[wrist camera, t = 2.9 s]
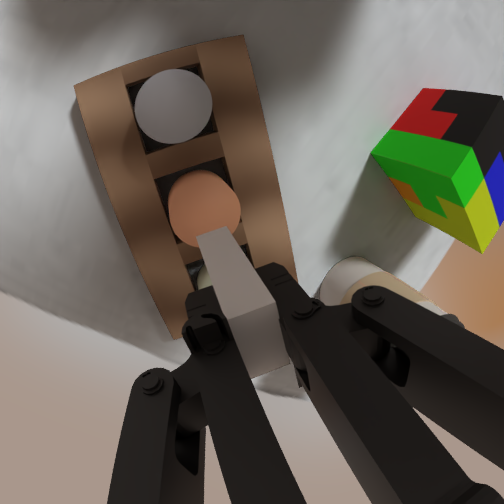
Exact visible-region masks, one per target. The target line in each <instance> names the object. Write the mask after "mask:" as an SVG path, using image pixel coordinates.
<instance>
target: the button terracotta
mask: <svg viewBox="0 0 504 504" xmlns="http://www.w3.org/2000/svg"><path fill="white" fill-rule="evenodd" d="M168 207H169V216H170V223H171V226H172V228H173V231H174V232H175V234H176V235H177V236H178V237H179V238H180V239H181V240H182V241H183V242H185V243H186V244H188V245H191V246H194V247H199V245H198V242H197V239H196V236H198V235H201V234H204V233H207V232H210V231H213V230H216V229H219V228H222V227H225V226H227V228H228V229H229V231H230V232H231V234H233V233H234V231H235V230H236V228H237V226H238V224H239V221H240V215H241V207H240V203H239V200H238V198H237V196H236V194H235V193H234V191H233V190H232V189H231V188H230V187H229V186H228V185H227V184H226V183H225V182H224V181H223V180H222V179H221V178H220V177H219V176H218V175H217V174H215V173H213V172H211V171H207V170H193V171H190V172H187V173H185V174H183V175H182V176H180V177H179V178H178V179H177V180H176V181H175V182H174V184H173V185H172V187H171V189H170V192H169V196H168Z"/></svg>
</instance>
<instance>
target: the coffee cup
mask: <svg viewBox="0 0 504 504" xmlns="http://www.w3.org/2000/svg"><path fill="white" fill-rule="evenodd" d="M370 285H377V286H382V287H385V288H388V289H390V290H391V291H393V292H395V293H397V294H399V295H401V296H403V297H405V298H407V299H409V300H411V301H413V302H415V303H417V304H419V305H421V306H423V307H425V308H427V309H428V310H430V311H432V312H434V313H436V314H438V315H440V316H442V317H444V318H446V319H448V320H449V321H451V322H453V323H455V324H457V325H459V326H461V327H463V328H464V325H463V324H462V323H461V322H459V320H458V318H457V317H456V316H455V315H453V314H447V313H446V312H444V311H443V310H442V309H440V308H439V307H438V306H437V305H436V303H434V302H433V301H431V300H430V299H429V298H427V297H426V296H424V295H423V294H421V293H420V292H418V291H417V290H415V289H414V288H412V287H411V286H409V285H407V284H406V283H404V282H403V281H401V280H400V279H398V278H397V277H395V276H394V275H392V274H390V273H388V272H385V271H383V270H382V269H380V268H379V267H377V266H376V265H374V264H372V263H371V262H369V261H368V260H366V259H365V258H362V257H357V256H354V257H349V258H346V259H344V260H342V261H340V262H339V263H337V264H336V265H335V266H334V267H333V268H332V269H331V270H330V271H329V272H328V273H327V275H326V276H325V278H324V280H323V282H322V285H321V288H320V301H321V302H323V303H324V304H325V305H327V306H334V305H341V304H346V303H351V299H352V295H353V294H354V293H355V292H356V291H357V290H358V289H360V288H362V287H365V286H370ZM464 329H465V328H464ZM410 406H411V405H410ZM411 407H412V406H411ZM412 408H413V407H412Z"/></svg>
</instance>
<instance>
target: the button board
mask: <svg viewBox="0 0 504 504" xmlns="http://www.w3.org/2000/svg"><path fill="white" fill-rule="evenodd" d="M193 67H197V70H198V73H199V77H200V78H201V79H202V80H203V81H204V82H205V83H206V85H207V86H208V88H209V90H210V93H211V97H212V112H211V116H210V118H211V122H212V126H213V130H214V131H211V132H207V133H204V134H201V135H197V136H195V137H193V138H191V139H189V140H187V141H185V142H181V143H175V144H169V145H166V146H163V147H160V148H157V149H154V150H151V151H149V152H147V151H146V148H145V144H144V141H143V138H142V135H141V131H140V128H139V125H138V122H137V119H136V115H135V111H134V108H133V104H132V101H131V97H130V94H129V90H128V87H131V86H134V85H137V84H139V83H142V82H145V81H147V80H148V79H149V78H151V77H152V76H154V75H155V74H157V73H159V72H162V71H165V70H170V69H182V70H185V69H189V68H193ZM74 89H75V93H76V97H77V100H78V104H79V108H80V111H81V115H82V118H83V121H84V125H85V128H86V131H87V134H88V138H89V141H90V144H91V147H92V150H93V153H94V156H95V159H96V162H97V165H98V168H99V171H100V173H101V176H102V179H103V182H104V185H105V187H106V190H107V193H108V195H109V198H110V201H111V203H112V206H113V208H114V211H115V214H116V216H117V219H118V221H119V223H120V226H121V228H122V231H123V233H124V236H125V238H126V240H127V243H128V245H129V247H130V250H131V252H132V254H133V257H134V259H135V261H136V263H137V266H138V268H139V270H140V272H141V274H142V277H143V279H144V281H145V283H146V285H147V287H148V289H149V291H150V294H151V296H152V298H153V300H154V302H155V304H156V306H157V308H158V310H159V312H160V314H161V316H162V318H163V320H164V322H165V324H166V326H167V328H168V330H169V331H170V333H171V335H172V337H173V339H174V340H175V339H178V338H181V337H183V336H182V334H181V332H182V327H183V325H184V324H185V322H186V321H187V320H188V317H187V311H186V307H185V301H186V298H187V296H188V293H191V292H194V291H196V288H195V286H194V283H193V281H192V278H191V276H190V273H189V271H188V268H187V265H186V264H189V263H192V262H194V261H197V260H200V259H203V256H202V254H201V251H200V248H199V247H194V246H191V245H188V244H186V243H185V242H183V241H182V240H181V239H180V238H179V237H178V236H177V235H175V233H174V231H173V228H172V226H171V223H170V219H169V217H168V214H167V211H166V208H165V205H164V202H163V199H162V197H161V194H160V191H159V188H158V185H157V182H156V178H159V177H162V176H165V175H168V174H171V173H174V172H177V171H180V170H183V169H186V168H189V167H192V166H195V165H198V164H201V163H204V162H208V161H211V160H214V159H217V158H221V159H222V163H223V167H224V171H225V174H226V178H227V182H228V185H229V187H230V188H231V189H232V190H233V191H234V193H235V194H236V196H237V198H238V200H239V203H240V207H241V215H240V221H239V224H238V226H237V228H236V230H235V231H234V233H233V234H232V235H233V237H234V238H235V240H236V242H237V243H238V245H239V246H241V245H244V244H245V248H246V252H247V255H248V259H249V262H250V263H251V265H252V266H253V268H254V269H255V268H258V267H261V266H264V265H266V264H269V263H272V262H275V263H278V264H280V265H283V266H284V267H285V268H286V270H287V271H288V272H289V274H291V276H292V277H293V278H294V279H295V280H296V281H297V283H298V279H297V273H296V268H295V263H294V257H293V252H292V247H291V242H290V237H289V231H288V226H287V221H286V216H285V211H284V207H283V202H282V197H281V192H280V187H279V183H278V178H277V173H276V169H275V164H274V159H273V155H272V150H271V146H270V141H269V137H268V133H267V128H266V124H265V120H264V115H263V111H262V107H261V103H260V98H259V94H258V90H257V86H256V82H255V78H254V74H253V70H252V66H251V62H250V58H249V54H248V50H247V47H246V43H245V39H244V35H238V36H233V37H227V38H222V39H217V40H212V41H207V42H203V43H198V44H194V45H190V46H186V47H182V48H178V49H174V50H171V51H167V52H164V53H160V54H157V55H154V56H150V57H147V58H144V59H141V60H138V61H135V62H132V63H129V64H126V65H123V66H121V67H118V68H115V69H113V70H110V71H107V72H105V73H102V74H100V75H97V76H95V77H92V78H90V79H88V80H85V81H83V82H81V83H78V84H76V85H74Z"/></svg>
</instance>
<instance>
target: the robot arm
mask: <svg viewBox="0 0 504 504" xmlns="http://www.w3.org/2000/svg"><path fill="white" fill-rule="evenodd" d="M196 239H197V242H198V245H199V248H200V251H201V254H202V256H203V259H204V262H205V265H206V268H207V271H208V273H209V276H210V279H211V282H212V285H211V286H208V287H205V288H202V289H200V290H197V291H194V292H191V293H188V296H187V298H186V301H185V307H186V311H187V317H188V320H187V321H186V322H185V324H184V325H183V327H182V332H181V334H182V336H183V338H184V340H185V342H186V344H187V346H188V348H189V350H190V352H191V356H190V357H189V359H188V360H187V361H186V362H185V363H184V364H182V365H181V366H180V367H178V368H177V369H175V370H173V371H172V372H170V371H169V370H166V369H164V368H153V369H150V370H147V371H146V372H144V373H142V374H141V375H140V376H139V377H138V378H137V379H136V380H135V382H134V384H133V386H132V389H131V393H130V397H129V401H128V405H127V409H126V413H125V417H124V422H123V426H122V430H121V435H120V439H119V444H118V449H117V453H116V458H115V463H114V468H113V473H112V479H111V484H110V490H109V495H108V501H107V504H204V469H205V468H204V467H205V436H206V428H205V426H207V425H209V429H210V432H211V436H212V440H213V443H214V447H215V451H216V454H217V458H218V461H219V465H220V468H221V471H222V474H223V478H224V481H225V484H226V488H227V491H228V494H229V497H230V500H231V503H232V504H307V503H306V501H305V499H304V497H303V495H302V493H301V491H300V489H299V486H298V484H297V482H296V480H295V478H294V476H293V474H292V472H291V470H290V467H289V465H288V463H287V461H286V459H285V457H284V454H283V452H282V450H281V448H280V446H279V443H278V441H277V439H276V437H275V434H274V432H273V430H272V427H271V425H270V423H269V421H268V419H267V416H266V414H265V411H264V409H263V407H262V405H261V402H260V400H259V398H258V395H257V393H256V390H255V388H254V386H253V383H252V381H251V379H252V378H255V377H257V376H260V375H262V374H265V373H268V372H270V371H273V370H275V369H278V368H280V367H283V366H285V365H288V364H290V359H289V357H290V358H291V360H292V362H293V364H294V368H295V372H296V376H297V381H298V385H299V388H300V387H302V385H303V387H304V389H305V391H306V392H307V394H308V396H309V398H310V399H311V401H312V403H313V405H314V406H315V408H316V410H317V412H318V413H319V415H320V417H321V419H322V420H323V422H324V424H325V425H326V427H327V429H328V431H329V432H330V434H331V436H332V437H333V439H334V441H335V443H336V444H337V446H338V448H339V449H340V451H341V453H342V454H343V456H344V458H345V459H346V461H347V463H348V465H349V466H350V468H351V469H352V471H353V473H354V475H355V476H356V478H357V480H358V481H359V483H360V485H361V486H362V488H363V489H364V491H365V493H366V495H367V496H368V498H369V500H370V501H371V503H372V504H504V499H503V498H502V497H501V495H500V494H499V493H498V492H497V491H496V490H495V489H493V488H492V487H490V486H488V485H486V484H479V483H475V482H473V481H472V480H471V479H470V478H469V477H468V476H467V475H466V474H465V472H464V471H463V470H462V469H461V467H460V466H459V465H458V463H457V462H456V461H455V460H454V458H453V457H452V456H451V455H450V453H449V452H448V451H447V450H446V449H445V447H444V446H443V445H442V444H441V442H440V441H439V440H438V439H437V437H436V436H435V435H434V434H433V432H432V431H431V430H430V429H429V427H428V426H427V425H426V424H425V423H424V421H423V420H422V419H421V418H420V416H419V415H418V414H417V413H416V412H415V411H414V409H413V408H412V407H414V408H415V409H417V410H418V411H419V412H421V413H422V414H423V415H425V416H426V417H428V418H429V419H431V420H432V421H433V422H435V423H436V424H437V425H439V426H440V427H442V428H443V429H445V430H446V431H447V432H449V433H450V434H452V435H453V436H455V437H456V438H457V439H459V440H460V441H462V442H463V443H465V444H466V445H467V446H469V447H470V448H472V449H474V450H475V451H477V452H478V453H479V454H481V455H482V456H483V457H485V458H487V459H488V460H489V461H491V462H492V463H494V464H495V465H497V466H498V467H500V468H501V469H503V470H504V350H503V349H501V348H499V347H498V346H496V345H494V344H492V343H490V342H489V341H487V340H485V339H483V338H481V337H479V336H478V335H476V334H474V333H472V332H470V331H468V330H466V329H464V328H463V327H461V326H459V325H457V324H455V323H453V322H451V321H449V320H448V319H446V318H444V317H442V316H440V315H438V314H436V313H434V312H432V311H430V310H428V309H427V308H425V307H423V306H421V305H419V304H417V303H415V302H413V301H411V300H409V299H407V298H405V297H403V296H401V295H399V294H397V293H395V292H393V291H391V290H390V289H388V288H385V287H382V286H377V285H370V286H365V287H362V288H360V289H358V290H357V291H356V292H355V293H354V294H353V295H352V299H351V303H346V304H341V305H334V306H327V305H325V304H324V303H323V302H321V301H320V300H318V299H315V298H310V297H309V296H308V295H307V293H306V292H305V291H304V290H303V289H302V287H301V286H300V285H299V284H298V283H297V281H296V280H295V279H294V278H293V277H292V276H291V274H289V272H288V271H287V270H286V268H285V267H284V266H283V265H280V264H278V263H275V262H272V263H269V264H266V265H264V266H261V267H258V268H255V269H254V268H253V266H252V265H251V263H250V262H249V260H248V259H247V257H246V255H245V254H244V252H243V251H242V249H241V248H240V246H239V245H238V243H237V242H236V240H235V238H234V237H233V235H232V234H231V232H230V231H229V229H228V228H227V226H225V227H222V228H219V229H216V230H213V231H210V232H207V233H204V234H201V235H198V236H196ZM410 405H411V406H412V407H411V406H410Z"/></svg>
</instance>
